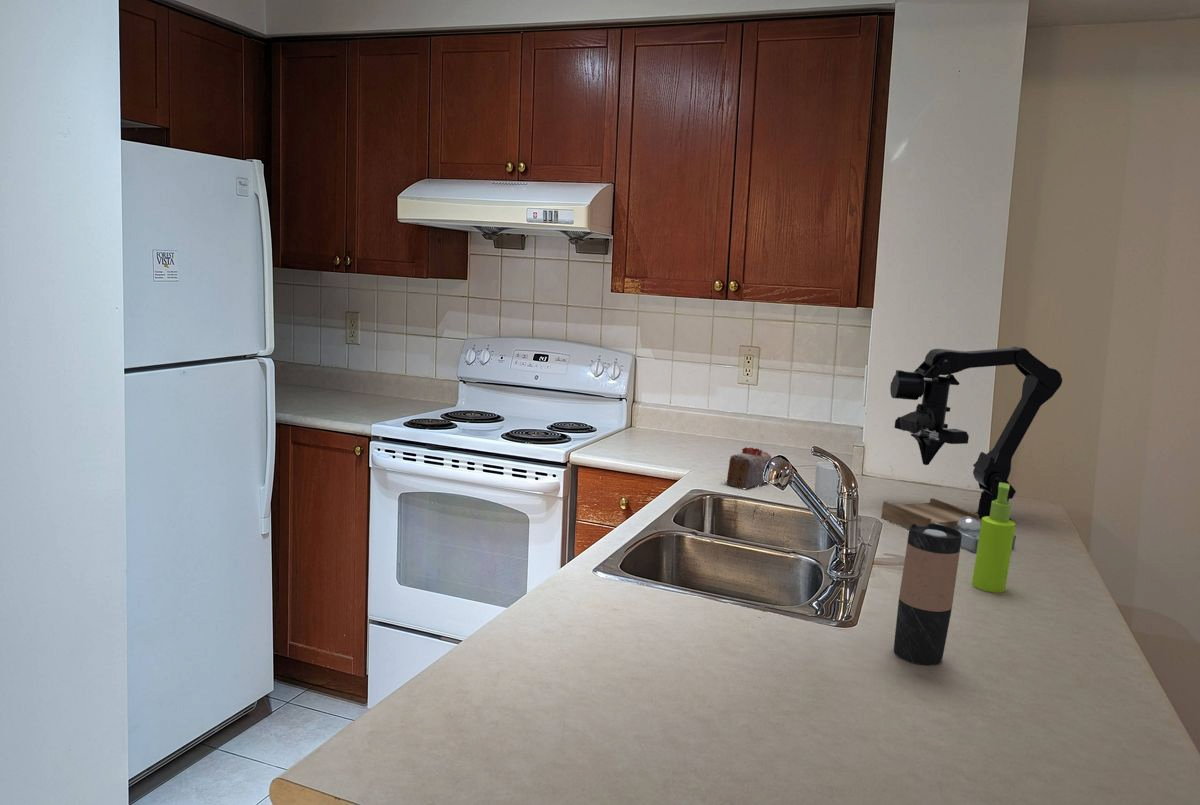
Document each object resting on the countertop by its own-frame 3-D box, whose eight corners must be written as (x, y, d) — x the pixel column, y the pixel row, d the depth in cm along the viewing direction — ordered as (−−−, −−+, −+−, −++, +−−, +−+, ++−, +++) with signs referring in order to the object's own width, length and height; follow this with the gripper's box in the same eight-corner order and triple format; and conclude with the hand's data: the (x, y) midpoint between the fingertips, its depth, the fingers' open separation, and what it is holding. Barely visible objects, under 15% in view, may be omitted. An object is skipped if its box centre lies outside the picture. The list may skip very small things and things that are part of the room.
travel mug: (937, 671, 136) (957, 541, 133) (885, 656, 140) (903, 529, 137) (948, 654, 142) (967, 530, 139) (898, 640, 146) (915, 519, 143)
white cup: (842, 502, 229) (846, 463, 228) (847, 511, 222) (852, 470, 220) (810, 499, 230) (814, 460, 228) (814, 507, 222) (818, 467, 221)
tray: (970, 532, 212) (972, 519, 211) (1013, 549, 201) (1016, 536, 201) (932, 535, 206) (933, 522, 206) (974, 553, 196) (976, 539, 195)
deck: (931, 514, 225) (933, 498, 224) (976, 531, 213) (979, 515, 212) (881, 517, 218) (883, 501, 217) (925, 536, 206) (927, 519, 205)
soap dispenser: (1005, 584, 177) (1021, 483, 174) (1004, 595, 171) (1021, 491, 168) (973, 577, 180) (988, 478, 177) (970, 588, 174) (986, 485, 170)
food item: (747, 477, 249) (750, 441, 247) (774, 483, 244) (778, 447, 242) (723, 485, 238) (727, 448, 236) (751, 491, 233) (755, 453, 231)
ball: (975, 511, 206) (989, 527, 203) (963, 526, 209) (977, 542, 205) (959, 512, 204) (973, 528, 200) (947, 527, 207) (961, 544, 203)
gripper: (881, 394, 226) (873, 456, 229) (939, 409, 209) (929, 475, 212) (915, 394, 231) (907, 455, 233) (974, 408, 214) (964, 473, 217)
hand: (925, 464), depth 224 cm, fingers closed
